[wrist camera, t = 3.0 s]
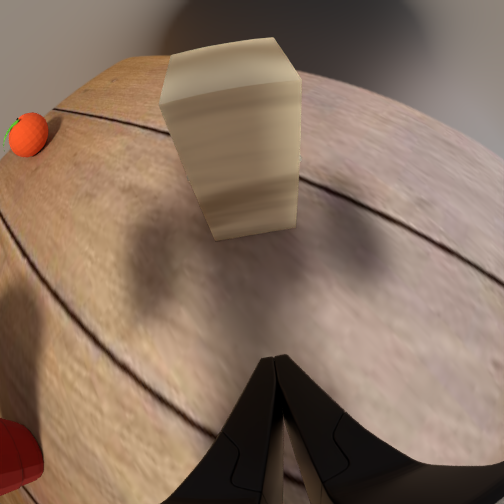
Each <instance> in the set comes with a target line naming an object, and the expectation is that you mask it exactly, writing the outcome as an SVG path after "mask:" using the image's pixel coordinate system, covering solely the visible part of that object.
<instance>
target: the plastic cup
mask: <svg viewBox="0 0 504 504" xmlns="http://www.w3.org/2000/svg"><path fill="white" fill-rule="evenodd" d="M43 467H44V462H43V458H42V453H41V450H40V448H39V446H38V444H37V441H36V439H35V438H34V437H33V435H32V434H31V432H30V431H29V430H28V429H27V428H26V427H25V426H23V425H21V424H19V423H17V422H13V421H10V420H6V419H2V418H0V496H1V495H4V494H6V493H9V492H11V491H14V490H16V489H18V488H20V487H21V486H23V485H25V484H28V483H30V482H33V481H35V480H37V478H39V477H41V475H42V473H43Z"/></svg>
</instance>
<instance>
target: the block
mask: <svg viewBox="0 0 504 504" xmlns="http://www.w3.org/2000/svg"><path fill="white" fill-rule="evenodd" d="M301 95H302V80H301V78H300V77H299V75H298V73H297V72H296V70H295V69H294V67H293V66H292V64H291V63H290V61H289V60H288V58H287V57H286V55H285V54H284V52H283V51H282V50H281V48H280V46H279V45H278V44H277V42H276V41H275V40H274V38H263V39H253V40H245V41H239V42H232V43H225V44H220V45H215V46H209V47H205V48H199V49H195V50H191V51H186V52H183V53H179V54H175V55H171V57H170V61H169V65H168V68H167V72H166V76H165V80H164V84H163V88H162V93H161V97H160V102H159V107H160V109H161V112H162V115H163V117H164V120H165V122H166V125H167V127H168V130H169V132H170V135H171V137H172V140H173V142H174V145H175V147H176V150H177V152H178V155H179V157H180V159H181V162H182V164H183V167H184V169H185V172H186V174H187V176H188V179H189V181H190V184H191V186H192V188H193V191H194V193H195V195H196V198H197V200H198V203H199V205H200V207H201V210H202V212H203V214H204V217H205V219H206V221H207V223H208V226H209V228H210V230H211V233H212V235H213V237H214V240H215V241H220V240H226V239H231V238H237V237H243V236H249V235H255V234H260V233H266V232H272V231H278V230H284V229H291V228H296V217H297V201H298V183H299V162H300V137H301Z"/></svg>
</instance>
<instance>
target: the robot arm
mask: <svg viewBox="0 0 504 504" xmlns="http://www.w3.org/2000/svg"><path fill="white" fill-rule="evenodd" d="M282 411H283V412H282ZM283 416H284V421H285V424H286V428H287V431H288V434H289V437H290V441H291V444H292V447H293V450H294V453H295V456H296V460H297V463H298V466H299V469H300V472H301V475H302V478H303V481H304V484H305V488H306V491H307V494H308V497H309V500H310V503H311V504H504V461H503V462H500V463H497V464H493V465H487V466H447V465H431V464H426V463H422V462H419V461H416V460H414V459H412V458H410V457H408V456H407V455H405V454H403V453H402V452H400V451H398V450H397V449H395V448H394V447H392V446H390V445H389V444H387V443H386V442H384V441H383V440H381V439H380V438H378V437H377V436H375V435H374V434H372V433H371V432H369V431H368V430H367V429H365V428H364V427H363V426H362V425H360V424H359V423H358V422H357V421H356V420H354V419H353V418H352V417H351V416H350V415H349V414H348V413H347V412H345V411H344V409H342V408H341V407H340V406H339V405H338V404H337V403H336V402H335V401H334V400H333V399H332V398H331V397H330V396H329V395H328V394H327V393H326V392H325V391H324V390H322V389H321V388H320V387H319V386H318V385H317V384H316V383H315V382H314V381H313V380H312V379H311V378H310V377H309V376H308V375H307V374H306V373H305V372H304V371H303V370H302V369H301V368H300V367H299V366H298V365H297V364H296V363H295V362H294V361H293V360H292V359H291V358H290V357H289V356H288V355H286V354H284V355H278V356H275V357H274V358H273V357H266V358H261V359H260V361H259V363H258V365H257V366H256V368H255V370H254V372H253V374H252V376H251V378H250V380H249V381H248V383H247V385H246V387H245V389H244V391H243V393H242V394H241V396H240V398H239V400H238V402H237V403H236V405H235V407H234V409H233V410H232V412H231V414H230V416H229V417H228V419H227V421H226V423H225V424H224V426H223V428H222V430H221V431H222V432H220V433H219V434H218V436H217V438H216V440H215V441H214V443H213V444H212V446H211V447H210V449H209V450H208V452H207V453H206V455H205V456H204V457H203V459H202V460H201V461H200V462H199V464H198V465H197V466H196V467H195V468H194V470H193V471H192V472H191V473H190V474H189V475H188V477H187V478H186V479H185V480H184V481H183V482H182V483H181V485H180V486H179V487H178V488H177V489H176V490H175V491H174V492H173V493H172V494H171V495H170V496H169V497H168V498H167V499H166V500H165V501H163V502H162V503H160V504H283V455H284V423H283Z"/></svg>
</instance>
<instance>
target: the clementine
mask: <svg viewBox="0 0 504 504" xmlns="http://www.w3.org/2000/svg"><path fill="white" fill-rule="evenodd" d="M9 131H10V134H9V144H10V147H11V149H12V151H13V152H14V153H15V154H16V155H18V156H20V157H30V156H33V155H35V154H36V153H38V152H39V151H40V150H41V149H42V148H43V146H44V145H45V143H46V140H47V137H48V125H47V122H46V120H45V119H44V118H43V117H42V116H41V115H39V114H37V113H27V114H24V115H22V116H21V117H19V118H17V120H16V121H15V122H14V123H13V124H12V125H11V127H10V128H9V130H8V131H7V133H6V135H5V138H6V136H7V134H8V132H9ZM4 140H5V139H4Z"/></svg>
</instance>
